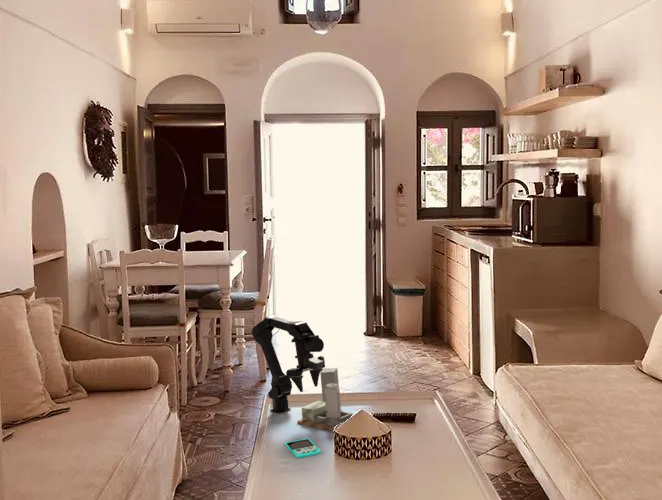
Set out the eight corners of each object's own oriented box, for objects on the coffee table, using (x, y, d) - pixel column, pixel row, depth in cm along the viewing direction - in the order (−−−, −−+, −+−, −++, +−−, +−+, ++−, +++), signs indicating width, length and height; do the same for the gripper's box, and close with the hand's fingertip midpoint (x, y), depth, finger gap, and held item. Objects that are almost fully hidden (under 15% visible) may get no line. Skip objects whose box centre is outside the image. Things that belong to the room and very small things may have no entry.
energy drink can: (326, 418, 305) (325, 383, 303) (341, 418, 304) (339, 382, 303) (325, 423, 299) (323, 387, 297) (340, 422, 298) (338, 386, 297)
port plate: (297, 423, 303) (296, 409, 303) (322, 412, 316) (321, 398, 315) (335, 432, 291) (334, 417, 290) (359, 420, 303) (358, 406, 302)
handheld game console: (296, 459, 266) (296, 456, 266) (283, 445, 281) (283, 442, 281) (322, 454, 270) (322, 451, 269) (308, 440, 284) (308, 437, 284)
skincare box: (337, 407, 322) (335, 372, 320) (321, 407, 323) (319, 372, 322) (340, 401, 330) (339, 367, 328) (325, 401, 332) (323, 367, 330)
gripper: (302, 356, 295) (308, 394, 295) (331, 347, 309) (337, 383, 309) (282, 357, 302) (288, 394, 302) (312, 348, 316) (317, 384, 316)
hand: (308, 389), depth 307 cm, fingers open, 9 cm apart
